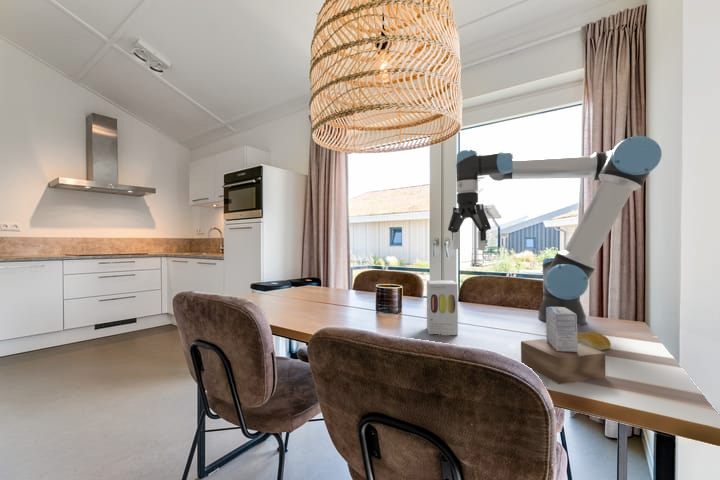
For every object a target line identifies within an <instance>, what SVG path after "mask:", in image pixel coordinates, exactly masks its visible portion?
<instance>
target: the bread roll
mask: <svg viewBox="0 0 720 480" xmlns="http://www.w3.org/2000/svg"><path fill="white" fill-rule="evenodd" d="M577 339H578V343H579V344H582V345H585V346H587V347H590V348H593V349H596V350H598V351H603V350H607V349H610V348H611V346H612V345H611V341H610V339H608V338H607V336H605V335H603V334H602V333H598V332H594V331H593V332H584V333H577Z"/></svg>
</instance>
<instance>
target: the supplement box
mask: <svg viewBox="0 0 720 480" xmlns="http://www.w3.org/2000/svg"><path fill="white" fill-rule="evenodd" d="M458 300H459V299H458V283H457V282H455V281H454V280H443V279H442V280H440V279H439V280H432V279H431V280H430V279H427V280H426V329H427V333H428V335H429V334H439V335H438V336H450V335H459V329H458V328H459V327H458V325H459V324H458V322H459V321H458V315H459V313H458V305H459V304H458ZM440 334H441V335H440Z"/></svg>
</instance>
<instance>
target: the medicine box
mask: <svg viewBox="0 0 720 480" xmlns="http://www.w3.org/2000/svg"><path fill="white" fill-rule="evenodd" d="M545 323H546V326H545V328H546V339H547V341H548V342H549V343H550V344H551V345H552V346H553V347H554V348H555V349H556V351H561V352H578V339H577V334H578V325H577V315H576V314H575V313H574V312H572V311H570V310H569V309H567V308H565V307H546V321H545Z"/></svg>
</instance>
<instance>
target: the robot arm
mask: <svg viewBox="0 0 720 480" xmlns="http://www.w3.org/2000/svg"><path fill="white" fill-rule="evenodd" d="M513 155H514V154H513V153H512V152H511V151H500V152H494V153H486V154H478V151H477V150H476V149H465V150H461V151H459V152H458V153H457V154H456V163H455V167H456V171H455V172H456V192H457V194H456V203H457V204H458V206H453V208H452V215H451V218H450V221H449V224H448V229H447V230H448V232H451V241H452V250H460V249H461V247H460V243H461V242H460V238H461V237H460V228H461V226H462V224H463V223H464V221H465V219H468V218H470V219H471V220H472V222H473V223H474V225H475V226H476V228H477V229H478V230H477V250H478V251H485V250H486V241H487V231H488V230H491V229H492V228H491V224H490V221H489V219H488V216H487V213H486V211H485V207H484V206H485V205H484V204H483V203H478V202H479V193H478V191H479V188H478V187H479V184H478V182H479V181H478V178H479V177H481V176H489V177H490V178H491V179H492V180H493V181H497V182H499V181H504V180H523V179H524V180H525V179H526V180H528V179H530V180H531V179H532V180H533V179H536V180H537V179H581V178H582V179H583V178H584V179H585V178H587V179H590V180H591V181H600V183H599V185H598V187H597V189H596V191H595V192H594V195H593V196H592V198H591V200H590V202H589V204H588V206H587V207H586V209H585V211H584V213H583V215H582V217H581V218H580V221H579V222H578V223H577V226H576V228H575V230H574V232H573V233H572V235H571V237H570V239H569V241H568V242H567V244H566V246H565V248H564V249H562V250H560V251H557V252H556V254H555V256H553V257H545V258H544V259H542V290H543V291H542V292H543V296H542V297H543V298H542V301H541V303H540V306H539V310H538V314H537V315H538V317H537V318H538V320H540V321H543V322H546V307H565V308H567V309H569V310H570V311H572V312H574V313H575V314H576V315H577V326H578V325H584V324H586V323H587V316H586V313H585V311H584V310H585V309H584V308H583V305H582V302H581V296H583V295H584V294H585V293H586V292H587V289H588V288H589V287H588V286H589V280H590V278H591V276H592V274H593V273H594V271H595V269H596V266H595V264H594V260H595V258H596V256H597V254H598V253H599V250H600V249H601V247H602V246H603V244H604V242H605V240H606V238H607V237H608V235H609V233H610V232H611V230H612V229H613V227H614V224H615V222H616V221H617V219H618V217H619V216H620V214H621V212H622V210H623V208H624V207H625V205H626V203H627V201H628V200H629V198H630V196H631V194H632V193H633V192H634V191H637V190H640V189H641V188H642V187H643V186H644V184H645V181H646V180H647V178H648V177H649V174H650V172H652V171H653V170H654V169H656V168H657V167H658V165H659V164H660V162H661V160H662V156H663V155H662V148H661V147H660V145H659V143H658V142H657V141H656V140H654V138H653V139H652V138H650V137H647V136H642V135H635V136H631V137H627V138H625V139H623V140H621V141H619V142H617V144H616V145H615V146H614V147H613V149H612V150H608V151H603V152H602V151H601V152H594V153H593V154H591V155H585V156H584V155H581V156H579V155H578V156H559V157H558V156H557V157H537V158H513V157H514V156H513Z"/></svg>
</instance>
